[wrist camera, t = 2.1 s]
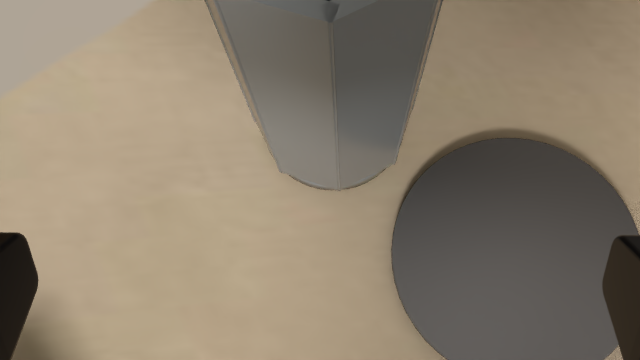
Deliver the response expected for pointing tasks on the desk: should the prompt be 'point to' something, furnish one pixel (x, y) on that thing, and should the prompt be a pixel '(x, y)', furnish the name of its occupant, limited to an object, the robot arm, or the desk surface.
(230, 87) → the desk surface
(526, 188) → the coaster
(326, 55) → the pen cup
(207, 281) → the desk surface
